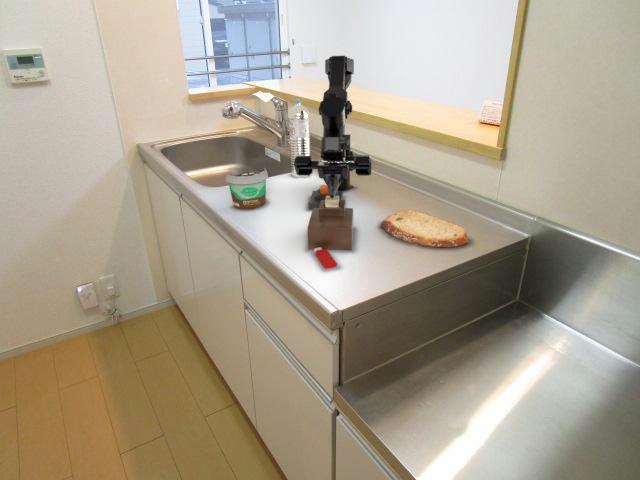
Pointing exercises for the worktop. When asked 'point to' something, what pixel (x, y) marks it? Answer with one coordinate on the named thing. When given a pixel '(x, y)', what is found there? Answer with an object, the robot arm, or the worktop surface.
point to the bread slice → (424, 229)
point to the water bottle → (298, 133)
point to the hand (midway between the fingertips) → (332, 197)
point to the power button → (324, 189)
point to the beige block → (332, 201)
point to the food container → (248, 189)
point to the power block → (321, 198)
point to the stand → (331, 227)
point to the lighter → (325, 258)
